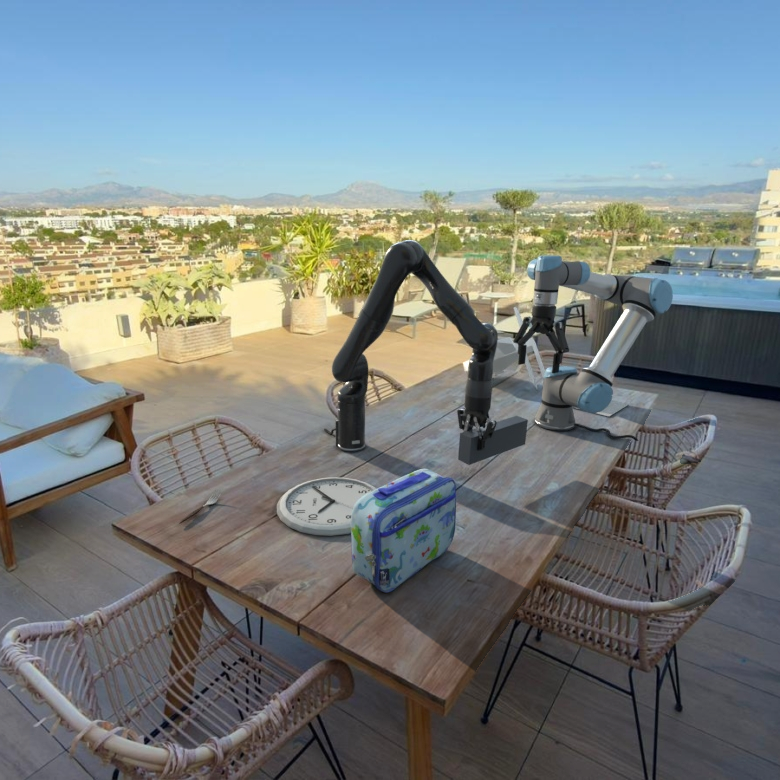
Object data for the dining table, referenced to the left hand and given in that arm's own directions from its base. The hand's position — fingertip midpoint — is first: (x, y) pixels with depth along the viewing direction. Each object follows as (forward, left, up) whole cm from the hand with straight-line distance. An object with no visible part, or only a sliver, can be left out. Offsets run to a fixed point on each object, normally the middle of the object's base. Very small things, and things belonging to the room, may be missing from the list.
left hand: (473, 446), depth 156 cm
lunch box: (+4, -49, -11) cm, 50 cm away
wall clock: (-26, -36, -11) cm, 45 cm away
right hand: (+8, +34, +18) cm, 39 cm away
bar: (+3, +8, -4) cm, 10 cm away
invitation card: (+22, +94, -11) cm, 97 cm away
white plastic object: (-27, +104, -11) cm, 108 cm away
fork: (-54, -57, -11) cm, 79 cm away
